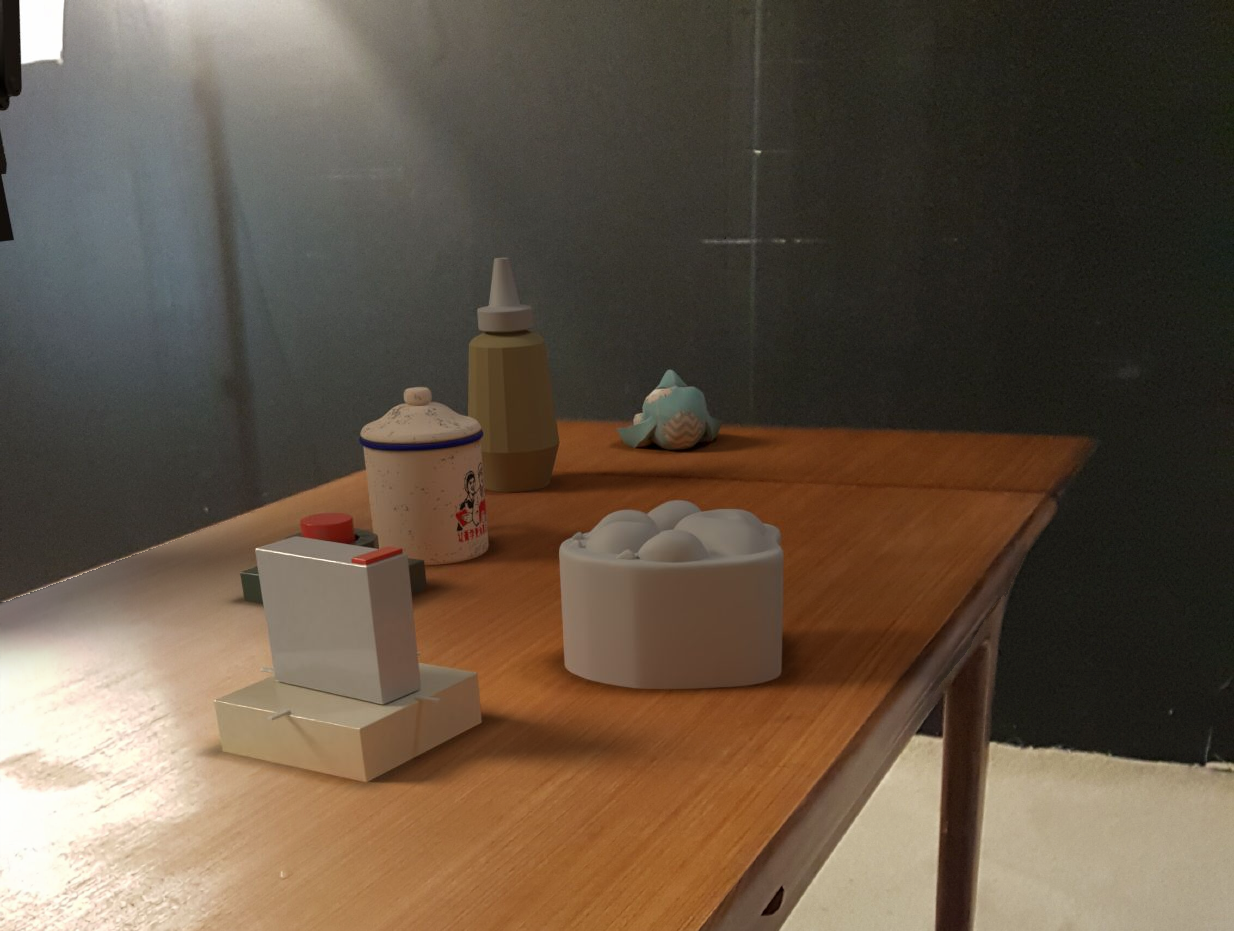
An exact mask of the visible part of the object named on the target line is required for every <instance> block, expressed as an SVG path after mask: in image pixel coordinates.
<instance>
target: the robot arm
mask: <svg viewBox="0 0 1234 931" xmlns="http://www.w3.org/2000/svg"><path fill="white" fill-rule="evenodd" d="M20 1H21V0H0V112H4V111H6V110H7V111H8V109H9V107H10V103H11V101H10V98H13V97H18V96H20V95H21V93H22V90H23V89H22V88H23V84H22V83H23V78H22V76H23V75H22V44H21V43H22V42H21V5H20V3H21V2H20ZM3 142H4V141H3V137H2V132H1V130H0V243H1V242H2V243H3V242H11V241H15V237H14V232H13V228H12V221H11V217H10V211H9V207H8V201H7V196H6V190H5V186H4V181H3V176H2V175H7V170H8V169H7V168H8V162H7V157H6V153H5V147H4V145H3V144H4V143H3Z"/></svg>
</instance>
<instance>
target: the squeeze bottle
mask: <svg viewBox="0 0 1234 931" xmlns="http://www.w3.org/2000/svg"><path fill="white" fill-rule="evenodd" d="M493 259H494V260H493V268H492V276H491V284H490V292H489V300H488V305H486V306H481V307H479V308H477V311H476V312H477V323H478V330H479V331H480V332H483V333H480V334H478V335H475V337H473V338H472V339H471V341H469V343H468V386H467V387H468V388H467V391H468V394H467V397H468V398H467V399H468V400H467V417H471V418H474V419H475V420H477V421H478V422H479V424H480V425H481V429H482V431H483V437H482V438H481V452H482V465H483V478H484V490H487V491H489V492H497V493H525V492H531V491H537V490H541V489H543V488H547V486H549V485H550V483H551V478H552V475H553V471H554V467H555V463H556V459H557V454H558V452H559V447H560V437H559V430H558V423H557V416H556V408H555V402H554V395H553V389H552V387H553V386H552V380H551V374H550V367H549V366H550V365H549V360H548V352H547V346H546V341H545V339H544V338H543V337H542V336H540V334H538V333H536V332H534V331H531V329H533V328H534V315H533V314H534V313H533V307H532V305H528V304H521V303H520V298H519V295H518V291H517V287H516V282H515V278H514V274H513V271H512V267H511V263H510V259H509V257H495V258H493Z"/></svg>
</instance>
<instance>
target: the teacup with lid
mask: <svg viewBox="0 0 1234 931" xmlns="http://www.w3.org/2000/svg"><path fill="white" fill-rule="evenodd" d="M432 399H433V396H432V391H431V390H430V388H429V387H426V386H414V387H413V386H412V387H408V388H406V389H404V392H403V400H404V403H400V404H398V405H396V406H394V407H392V408H391V409H390V410H388V411H387V413H385V414H384V415H383V416H382V417H380V418H379V419H376V420H373V421H371V422H369V423H367V424H365V425H364V426H362V429H361V430H360V436H359V438H358V442H359V444H360V445H361V446H362V447H363V456H364V464H365V473H366V482H367V483H366V484H367V491H368V499H369V508H370V516H371V526H372V532H373V533H375V534H376V535H378V542H379V549H381V548H384V547H387V546H389V547H396V548H402V550H403V553H406V554H407V556H408V558H411V559H419V560H424V563H425V567H426V566H440V565H448V564H449V565H450V564H455V563H462V562H465V561H470V560H472V559H476V558H478V557H481V556H483V555H484V554H485V553H487V551H488V550H489V545H490V544H489V533H488V532H489V531H488V519H487V506H486V505H487V504H486V493H485V489H484V478H483V465H482V452H481V438H482V437H483V431H482V429H481V425H480V424H479V422H478V421H477V420H475V419H474V418H471V417H468V415H463V414H461V413H458V412H456V411H454V410H453V409H451V408H450V407H448V406H447V405H445V404H443V403H440V402H437V401H432Z"/></svg>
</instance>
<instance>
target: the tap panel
mask: <svg viewBox="0 0 1234 931" xmlns="http://www.w3.org/2000/svg"><path fill="white" fill-rule="evenodd" d="M417 652H418V657H419V656H421V652H420V651H417ZM259 671H260V672H261V673H267V674H272V675H270V676H269V677H266V678H264V679H262V680H259V681H257V682H254V683H252V684H250V685H247V686H245V687H243V688H240V689H238V690H236V691H232V692H230V693H228V694H225V695H223V696H221V697H219V698H216V699H214V700H213V704H214V711H215V716H216V722H217V728H218V732H219V738H220V739H219V740H220V744H221V745H220V746H221V750H222V752H225V753H229V754H233V755H239V756H242V757H248V758H253V759H257V760H262V761H266V762H271V763H275V764H281V765H285V766H289V767H294V768H299V769H304V770H307V771H313V772H317V773H323V774H327V775H331V776H336V777H339V778H340V777H341V778H344V779H350V780H354V781H358V782H359V781H360V782H364V783H368V782H370V781H372V780H373V779H376V778H377V777H380V776H381V775H383V774H386V773H387V772H389V771H391V770H393V769H395V768H397V767H399V766H400V765H402V764H405V763H407V762H409V761H411V760H412V759H414V758H416V757H419V756H420V755H421V754H424V753H426V752H427V751H429V750H431V749H434V748H435V747H437V746H439V745H441V744H443V743H445V742H447V741H450V739H452V738H454V737H457V736H458V735H460V734H462V733H464V732H466V731H468V730H470V729H472V728H474V727H475V726H478V725H479V724H481V723H483V722H482V708H481V697H480V696H481V695H480V685H479V672H476V671H472V670H471V671H470V670H466V669H465V670H464V669H459V668H453V667H447V666H441V665H435V664H429V663H424V662H423V663H422V662H419V671H420V681H421V689H419V690H417V691H415V692H412V693H410V694H407V695H405V696H403V697H400V698H398V699H396V700H393V701H391V702H388V703H386V704H384V705H383V704H378V703H373V702H369V701H365V700H360V699H356V698H351V697H347V696H342V695H338V694H333V693H329V692H324V691H320V690H315V689H311V688H306V687H302V686H297V685H293V684H288V683H284V682H279V681H276V680H275V676H274V670H273V667H267V666H262V667H261V668H259Z"/></svg>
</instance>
